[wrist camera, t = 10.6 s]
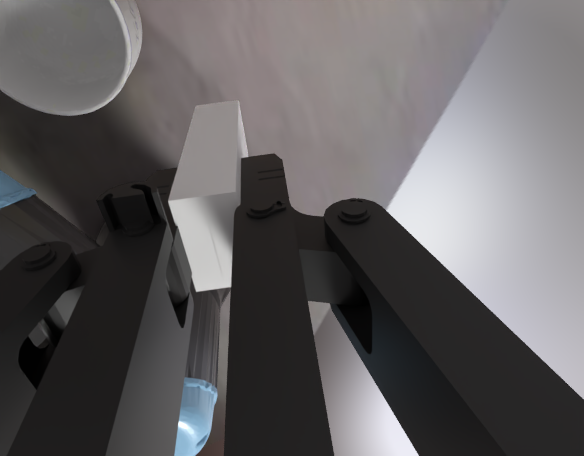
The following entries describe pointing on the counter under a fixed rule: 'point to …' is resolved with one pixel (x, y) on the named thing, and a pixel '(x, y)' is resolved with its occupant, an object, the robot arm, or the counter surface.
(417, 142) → the counter surface
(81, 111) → the teacup
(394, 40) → the counter surface
